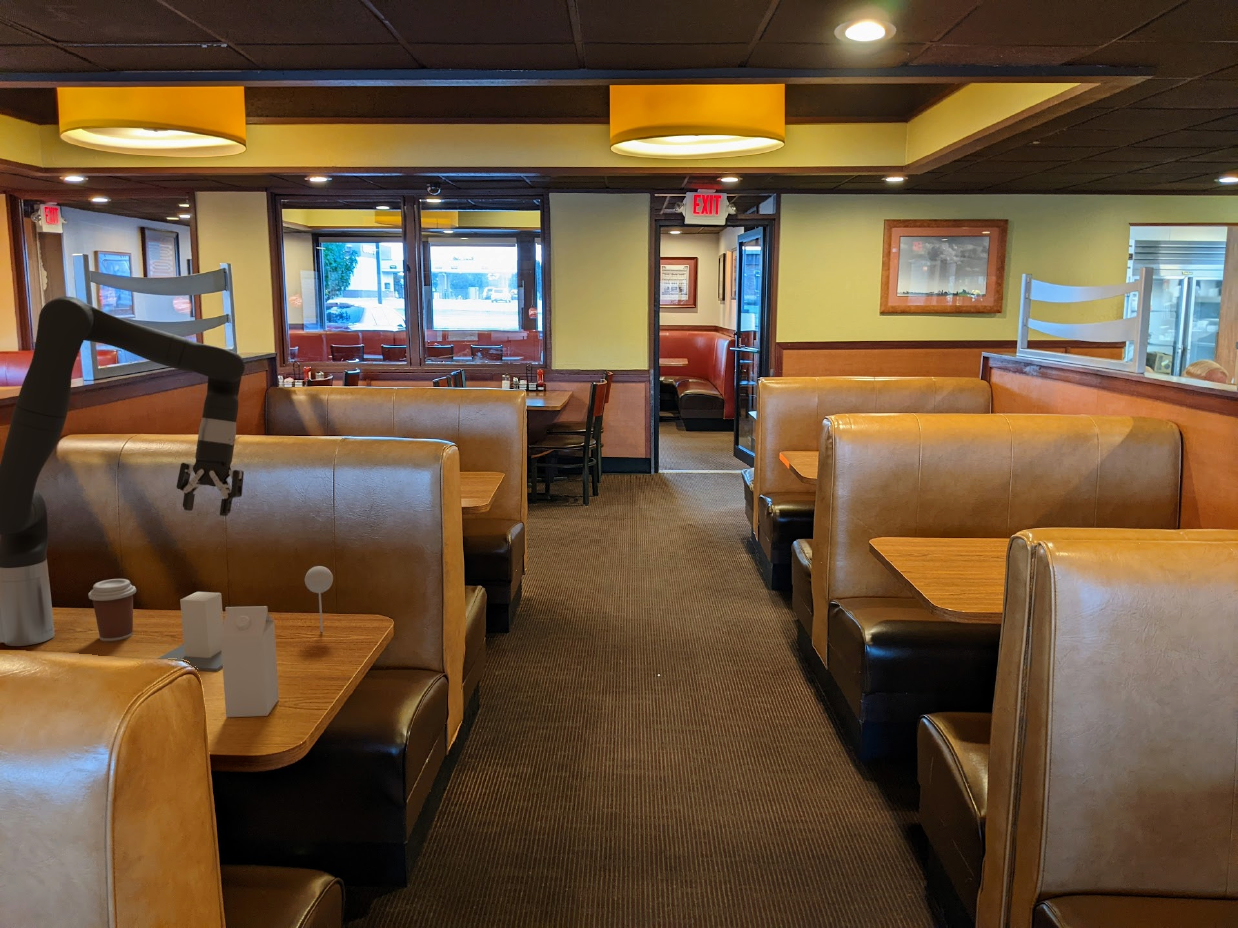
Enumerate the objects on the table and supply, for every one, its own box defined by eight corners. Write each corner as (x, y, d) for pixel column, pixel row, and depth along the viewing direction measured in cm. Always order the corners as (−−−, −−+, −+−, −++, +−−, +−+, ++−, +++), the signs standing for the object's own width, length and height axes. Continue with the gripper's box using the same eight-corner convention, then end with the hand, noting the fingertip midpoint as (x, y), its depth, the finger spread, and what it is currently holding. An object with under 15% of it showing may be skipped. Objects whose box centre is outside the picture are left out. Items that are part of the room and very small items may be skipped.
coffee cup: (147, 628, 203) (143, 577, 201) (127, 643, 194) (122, 589, 192) (106, 628, 203) (101, 577, 201) (83, 643, 194) (78, 589, 192)
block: (184, 656, 185) (180, 599, 183) (201, 646, 191) (197, 591, 189) (209, 657, 184) (205, 601, 183) (225, 648, 190) (221, 592, 188)
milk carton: (239, 700, 166) (232, 601, 162) (279, 699, 166) (273, 600, 163) (226, 718, 159) (218, 613, 155) (267, 716, 159) (261, 612, 156)
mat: (148, 666, 181) (148, 663, 181) (194, 640, 196) (194, 637, 196) (217, 671, 179) (216, 668, 179) (258, 644, 194) (258, 641, 194)
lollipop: (326, 637, 198) (323, 571, 195) (302, 635, 199) (298, 569, 197) (340, 628, 204) (337, 563, 201) (317, 626, 205) (313, 562, 203)
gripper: (176, 435, 198) (165, 508, 198) (236, 443, 196) (226, 517, 196) (196, 438, 206) (186, 508, 205) (255, 445, 204) (244, 517, 203)
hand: (205, 513), depth 200 cm, fingers open, 8 cm apart
